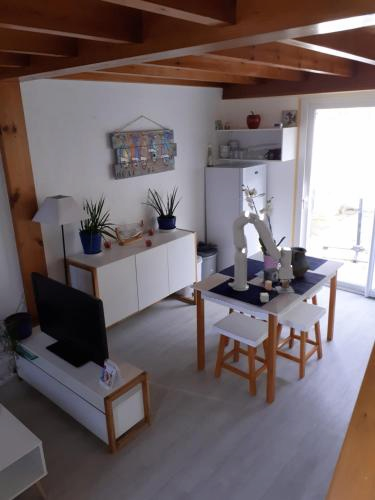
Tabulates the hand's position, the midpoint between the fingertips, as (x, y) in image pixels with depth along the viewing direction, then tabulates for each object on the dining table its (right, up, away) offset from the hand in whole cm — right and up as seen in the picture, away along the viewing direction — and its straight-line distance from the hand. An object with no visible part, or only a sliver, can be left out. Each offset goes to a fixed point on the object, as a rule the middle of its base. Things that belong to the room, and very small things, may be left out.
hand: (284, 286), depth 314 cm
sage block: (-18, -9, -15) cm, 26 cm away
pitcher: (+16, +6, +26) cm, 31 cm away
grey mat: (0, -3, +1) cm, 3 cm away
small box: (-7, +2, +17) cm, 19 cm away
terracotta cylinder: (-12, -2, +4) cm, 13 cm away
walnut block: (0, -1, 0) cm, 1 cm away
